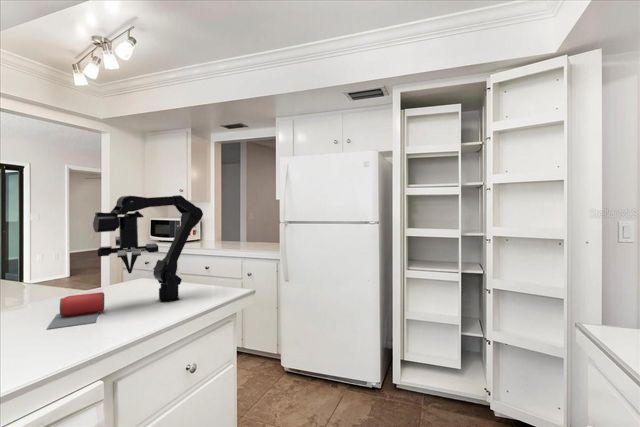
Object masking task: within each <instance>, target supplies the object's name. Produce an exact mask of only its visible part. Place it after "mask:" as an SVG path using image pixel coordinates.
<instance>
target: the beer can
mask: <svg viewBox="0 0 640 427" xmlns="http://www.w3.org/2000/svg"><path fill="white" fill-rule="evenodd" d="M59 301H60V302H59V314H60V315H61V316H62V315H64V316H73V315H81V314H88V313H95V312H99V313H101V312H104V311H105V293H104V292H103V291H101V292H92V293H85V294H83V293H82V294H75V295H74V294H73V295H67V296H65V297H61V298H60V300H59Z"/></svg>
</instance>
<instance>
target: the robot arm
mask: <svg viewBox="0 0 640 427" xmlns="http://www.w3.org/2000/svg"><path fill="white" fill-rule="evenodd" d="M167 206H174V207H175V209H177V211H178V212H179V213H180V214H181V216H180V225H179V228H178V230H177V232H176V234H175V236H174V237H173V241H172V242H171V244H170V246H169V249H168V251H167V253H166V254H165V256H164V257H163V259H158V260H156V264H155V266H154V267H153V268H152V270H153V272H152V273H153V277H154V279H155V280H157V282H158V284H160V287H158V300H160V302H161V303H164V302H166V303H167V302H172V301H179V300H180V298H179V285H181V282H182V279H183V278H181V277H179V276H178V275H177V271H178V260H179V259H180V255H181V254H182V252H183V250H184V248H185V245H186V243H187V241H188V238H189V237H190V234H191V232H192V230H193V229H194V228H195V227H196V226H197V225H198V224H199V223H200V221H201V220H202V218H203V216H204V212H203V210H202V209H201V208H200V207H199V206H196V205H195V204H193V203H192V202H191V201H189V200H187V199H186V198H185V197H184V196H183V195H181V194H180V195H171V196H156V197H154V196H153V197H152V196H151V197H145V196H137V195H123V196H120V197H119V198H118V199H117V201H116V205H115V206H114V208H112V210H111V211H110V212H97V211H96V212H95V213H94V214H95V215H94V217H93V218H94V219H93V221H92V228H93V231H94V233H107V232H109V233H111V232H116V230H117V229H119V230H118V231H119V233H118V234H119V236H115V246H116V247H113V246H112V245H108V246H107V245H105V246H100V247H99V248H98V249H97V257H110V255H111V254H117V258H120V259H121V261H122V262H123V263H124V266H125V267H126V268H125V269H126V270H127V273H128V274H132V272H133V269H134V265H135V264H136V261H137V259H138V257H139V256H140V257H141V256H142V253H141V252H145V251H146V252H147V253H149V254H150V253H158V252H159V245H158V244H157V243H153V242H151V243H145V245H140V246H139V237H138V236H139V235H138V234H139V233H138V228H139V227H138V218H144V214H142V213H141V212H140V210H144V209H147V208H156V207H167ZM130 212H131V213H130ZM128 253H131V256H130V264H129V256H128Z"/></svg>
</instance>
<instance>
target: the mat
mask: <svg viewBox="0 0 640 427" xmlns="http://www.w3.org/2000/svg"><path fill="white" fill-rule="evenodd" d="M99 313H100V312H95V313H88V314H81V315H73V316H64V315H62V316H61V315H60V313H56V315H55V316H54V318H52V320H51V322H50V323H49V325H48V326H47V328H46V331H47V330H53V329H62V328H69V327H74V326H75V327H76V326H82V325H83V326H84V325H89V324H96V322H97V320H98V317H99Z"/></svg>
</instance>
